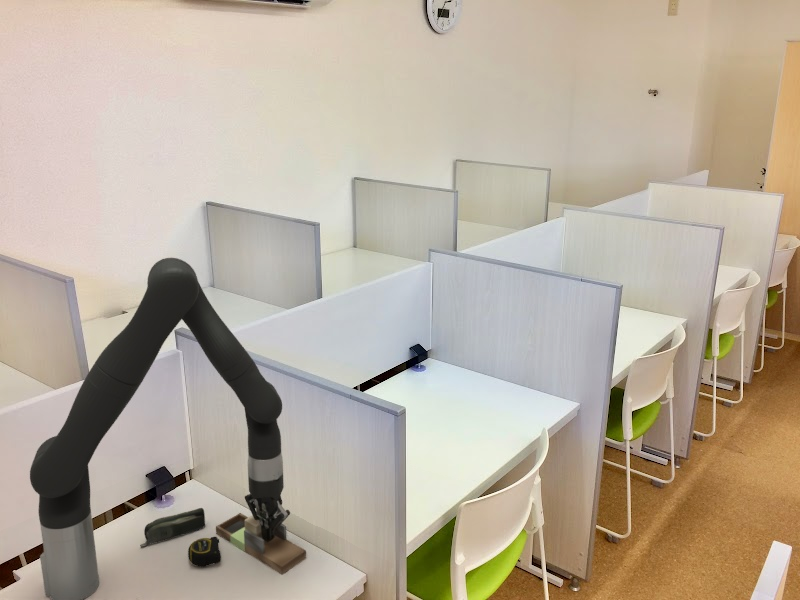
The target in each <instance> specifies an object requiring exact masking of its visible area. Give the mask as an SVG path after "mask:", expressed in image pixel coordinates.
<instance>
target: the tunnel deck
mask: <svg viewBox="0 0 800 600" xmlns="http://www.w3.org/2000/svg"><path fill="white" fill-rule="evenodd" d="M247 518H249V516H246V515H245V514H243V513H241V512H240V513H238V514H236V515H234V516H232V517H230V518H229V519H227V520H225V521H223V522H222V523H220V524H218V525H216V526H215V531H216V532H215V534H216V535H217V536H219V537H221V538H222V539H224V540H225V541H227V542H229V543H230V544H232V543H231V541H230V535H232V534H233V533H235V532H237V531H238V530H240V529H242V528H244V527H245V519H247ZM274 533H275V537H274V538H273V539H272V540H271V541H269V542H266V541H264V540H263V539H262V538H260V537H258V536H257V535H255V534H253V533H251V532H250V531H248V530H244V544H245V551H244V552H245V553H246V554H248V555H249V556H251V557H253V558H254V559H256V560H258V561H260V562H261V563H262V564H264V565H266V566H267V567H269V568H270V569H272V570H273V571H276V572H277V573H279V574H280V575H284V574H285V573H287V572H288V571H289V570H291V569H292V568H294V567H295V566H297V565H299V564H300V563H301V562H303V561H304V560H306V559H307V550H306V549H304V548H303V547H301V546H299V545H297V544H296V543H293V542H292V541H290V540H289V539H288V538H287V536H288V535H287V534H288V533H287V525H286V524H283V523H282V524H281V525H279V526H277V527H275V528H274Z"/></svg>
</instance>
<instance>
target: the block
mask: <svg viewBox="0 0 800 600" xmlns="http://www.w3.org/2000/svg"><path fill="white" fill-rule="evenodd" d="M245 530H248V531H250V532H251V533H253V534H255V535H257V536H258V537H260V538H262V534H261V525H260V524H259V520H255V519H254V517H253V515H250V516H248V518H247V519H245Z"/></svg>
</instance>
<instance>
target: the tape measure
mask: <svg viewBox="0 0 800 600" xmlns="http://www.w3.org/2000/svg"><path fill="white" fill-rule="evenodd" d="M219 540H220V539H219V538H218V537H217V536H210V537H209V538H207V537H203V538H199V539H196V540H193V542H192V543H191V544H190V545H189V546H188V550H187V558H188V560H189V562H190V563H191V565H193V566H196V567H201V568H202V567H203V568H204V567H208V566H211V565H214V564H218V563H220V561H222V556H221V551H220V546H219V543H220V541H219Z"/></svg>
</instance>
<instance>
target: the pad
mask: <svg viewBox="0 0 800 600" xmlns="http://www.w3.org/2000/svg"><path fill="white" fill-rule="evenodd" d="M244 530H245V527H244V528H242V529H240V530H238V531H237V532H235V533H233V534H232V535H230V541H231V543H230V544H232V545H233V546H235V547H236V548H238V549H239V550H242V551H243V552H245V544H244Z"/></svg>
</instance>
